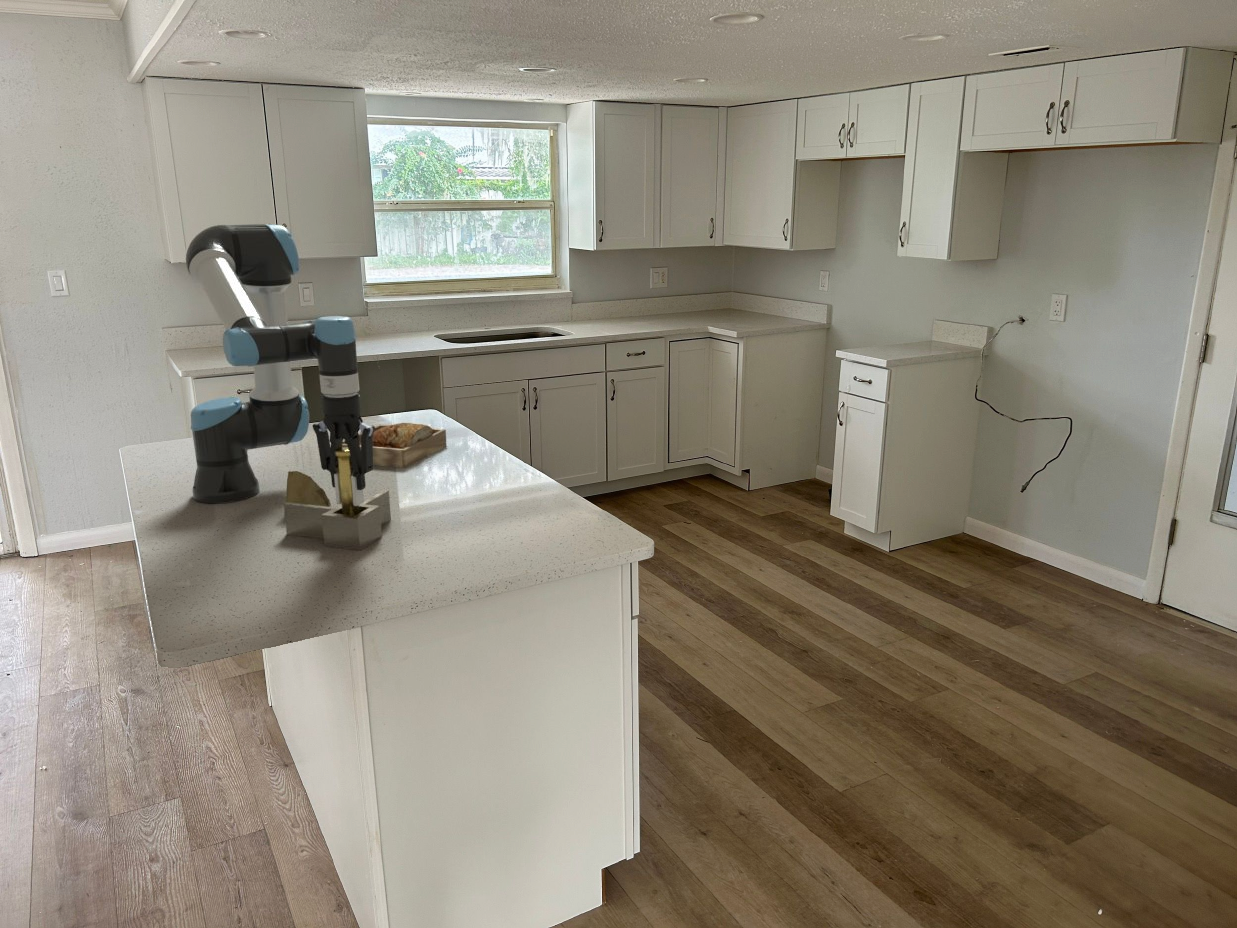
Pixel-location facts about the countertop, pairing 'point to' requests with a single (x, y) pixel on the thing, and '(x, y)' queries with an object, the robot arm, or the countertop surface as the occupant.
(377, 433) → the bread
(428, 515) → the countertop surface
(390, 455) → the bread crate
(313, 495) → the rock
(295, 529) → the hinge
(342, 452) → the hinge pin
